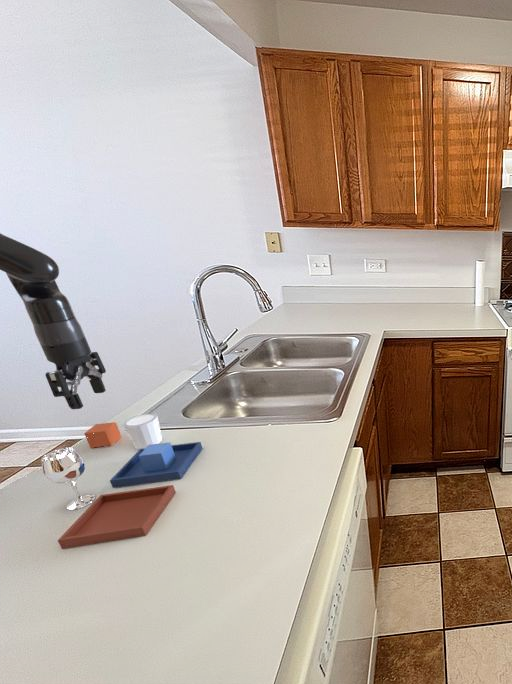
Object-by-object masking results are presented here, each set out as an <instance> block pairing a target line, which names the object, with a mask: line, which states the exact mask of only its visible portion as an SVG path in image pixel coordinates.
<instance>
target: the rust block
mask: <svg viewBox="0 0 512 684" xmlns="http://www.w3.org/2000/svg"><path fill="white" fill-rule="evenodd" d="M93 433H94V434H93ZM84 436H85V438H87V437H88V438H87V439H86V441H87V443H88V445H89V447H90V449H95V448H94V447H98V448H102V447H101V446H107V447H112V446H113V445H114V444H116V442H118V441H119V440H120V439H121V438H122V434H121V432H120V429H119V427H118V424H117V422H116V421H113V422H104V423H103V422H102V423H95V424H94V425H93V426H92V427H90V428H89V429H88V430H86V431H85V432H84ZM113 443H114V444H113ZM112 444H113V445H112ZM111 445H112V446H111Z"/></svg>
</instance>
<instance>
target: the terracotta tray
mask: <svg viewBox="0 0 512 684" xmlns="http://www.w3.org/2000/svg"><path fill="white" fill-rule="evenodd" d="M176 493H177V491H176V489H175V486H174V484H171V485H163V486H157V487H156V486H155V487H148V488H141V489H134V490H133V489H132V490H126V491H119V492H111V493H104V494H100V495H99V496H98V497H97V498H95V499H96V500H94V501H93V502H92V503H91V504H90V505H89V507H88V508H87V509H86V510H85V511H84V512H83V513H82V514H80V515H79V517H78V518H77V519H76V520H75V521H74V523H73V524H71V526H69V528H68V529H66V531H65V532H64V533H63V534H62V535H61V536H60V537H59V538H58V539H57V543H58V544H59V546H60V548H61V549H62V550H64V549H67V548H68V549H69V548H75V547H81V546H88V545H95V544H100V543H101V544H102V543H108V542H112V541H113V542H114V541H121V540H125V539H133V538H139V537H145V536H147V535H148V533H149V531H150V530H151V529H152V527H153V526H154V525H155V523H156V521H157V520H158V519H159V517H160V516H161V514H162V513H163V512H164V510H165V508H166V507H167V506H168V504H169V503H170V502H171V500H172V499H173V497H174V496H175V494H176Z"/></svg>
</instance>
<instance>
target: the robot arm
mask: <svg viewBox="0 0 512 684" xmlns="http://www.w3.org/2000/svg"><path fill="white" fill-rule="evenodd" d="M0 271H1V272H4V273H5V274H6V276H7V278H8V280H9V281H10V283H11V285H12V286H13V288H14V290H15V291H16V293H17V294H18V296H19V297H20V299H21V300H22V302H23V304H24V308H25V310H26V313H27V315H28V317H29V319H30V322H31V324H32V326H33V330H34V334H35V336H36V338H37V340H38V343H39V345H40V348H41V349H42V351H43V354H44V356H45V358H46V361H48V362H49V363H52V364H54V365H55V370H53V371H47V372H46V373H45V374H44V375H45V377H46V380H47V383H48V385H49V387H50V391H51V392H52V395H53V397H54V398H60V397H64V399H65V401H66V403H67V406H68V407H69V408H70V409H71V410H81V409H82V408H83V407H84V404H83V401H82V399H81V396H80V395H79V393H78V386H80V385H81V380H83V379H84V378H86V379H88V381H89V384H90V386H91V389H92V390H93V393H94V394H104V393H105V392H106V387H105V384H104V381H103V380H102V379H103V374H106V372H107V369H106V368H105V365H104V363H103V362H102V359H101V356H100V355H99V353H98V351H92V350H91V347H90V345H89V342H88V340H87V338H86V335H85V332H84V331H83V328H82V326H81V323H80V322H79V321H78V319H77V317H76V315H75V312H74V309H73V307H72V305H71V303H70V300H68V298H67V296H65V294H63V292H62V291H61V290H60V288H59V286H58V284H57V282H56V280H57V278H58V277H59V275H60V267H59V266H58V263H57V262H56V261H55V260H54V259H53V258H52V257H51V256H49V255H48V254H46V253H44V252H43V251H40V250H38V249H35V248H34V247H32V246H29V245H27V244H25V243H22V242H21V241H18V240H16V239H14V238H12V237H9V236H7V235H5V234H3V233H1V232H0ZM96 367H98V368H96ZM69 387H70V389H69ZM59 388H60V389H59Z"/></svg>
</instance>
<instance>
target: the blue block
mask: <svg viewBox="0 0 512 684" xmlns="http://www.w3.org/2000/svg"><path fill="white" fill-rule="evenodd" d="M172 445H173V444H172V443H171V442H170V441H169V442H160V443H159V444H151V445H148V446H147V447H146V448H145V449H144V451H143V452H142V453H141V454H140V455H139V458H140V461H141V463H142V466H143V469H144V471H145V472H149V471H156V470H164V469H167V468H168V467H169V466H170V465H171V463H172V462H173V461H174V460H175V458H176V457H175V454H174V451H173V448H172Z"/></svg>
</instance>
